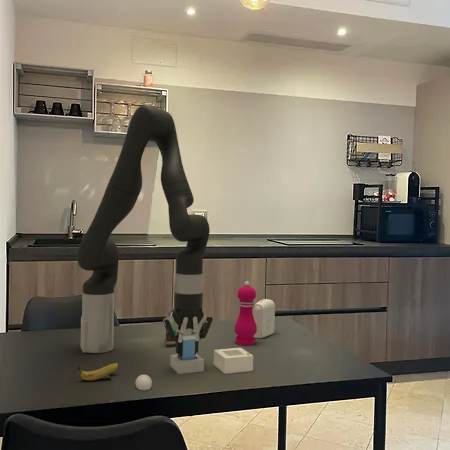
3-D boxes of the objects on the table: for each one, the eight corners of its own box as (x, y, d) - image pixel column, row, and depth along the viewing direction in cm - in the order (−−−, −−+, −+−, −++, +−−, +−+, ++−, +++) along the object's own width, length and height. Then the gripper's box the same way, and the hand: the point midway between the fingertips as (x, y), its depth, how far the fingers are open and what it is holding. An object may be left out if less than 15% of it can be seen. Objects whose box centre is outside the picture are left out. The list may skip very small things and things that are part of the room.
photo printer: (264, 331, 187) (265, 296, 186) (275, 333, 184) (276, 298, 184) (250, 337, 178) (251, 300, 177) (261, 339, 176) (263, 302, 175)
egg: (149, 386, 129) (150, 370, 129) (153, 395, 123) (153, 378, 123) (134, 387, 128) (134, 371, 128) (137, 396, 122) (137, 380, 122)
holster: (177, 377, 136) (178, 362, 136) (170, 369, 142) (170, 354, 142) (203, 374, 138) (204, 359, 138) (194, 366, 145) (195, 352, 145)
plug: (182, 370, 138) (183, 336, 138) (178, 366, 141) (179, 333, 141) (194, 369, 139) (195, 335, 139) (190, 365, 142) (191, 332, 142)
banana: (117, 376, 135) (118, 361, 135) (118, 380, 133) (119, 364, 133) (76, 379, 132) (77, 364, 132) (77, 383, 130) (77, 367, 130)
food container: (185, 348, 162) (185, 316, 162) (165, 348, 162) (165, 315, 162) (188, 338, 175) (189, 308, 174) (170, 337, 175) (170, 307, 174)
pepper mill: (261, 343, 171) (262, 281, 170) (246, 347, 166) (248, 283, 165) (244, 338, 176) (245, 278, 175) (229, 342, 171) (231, 280, 170)
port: (224, 377, 137) (225, 356, 137) (213, 368, 144) (214, 348, 144) (252, 374, 140) (253, 354, 140) (240, 365, 147) (240, 346, 147)
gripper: (166, 293, 133) (165, 361, 134) (218, 291, 139) (216, 356, 139) (158, 288, 140) (157, 353, 141) (208, 287, 145) (207, 349, 146)
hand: (187, 354), depth 140 cm, fingers closed on plug, 3 cm apart
